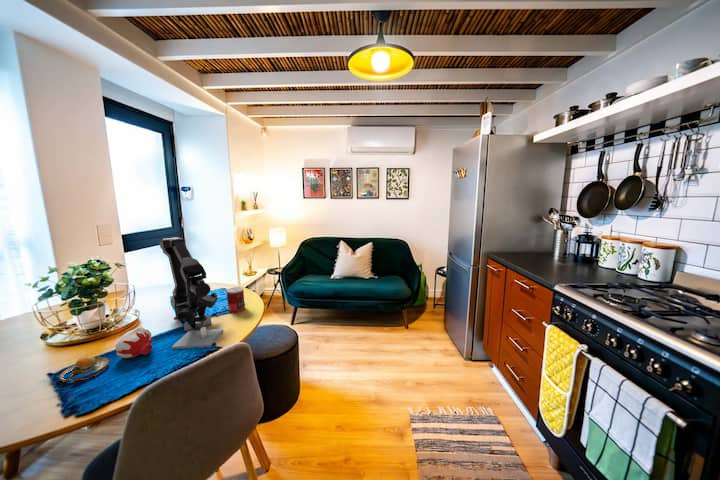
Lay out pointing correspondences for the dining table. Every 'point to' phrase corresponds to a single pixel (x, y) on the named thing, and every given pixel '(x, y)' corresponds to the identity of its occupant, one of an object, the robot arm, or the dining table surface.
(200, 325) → the link
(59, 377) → the ringed planet model
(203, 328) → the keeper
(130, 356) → the red white ovoid
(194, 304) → the robot arm
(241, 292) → the canned food
